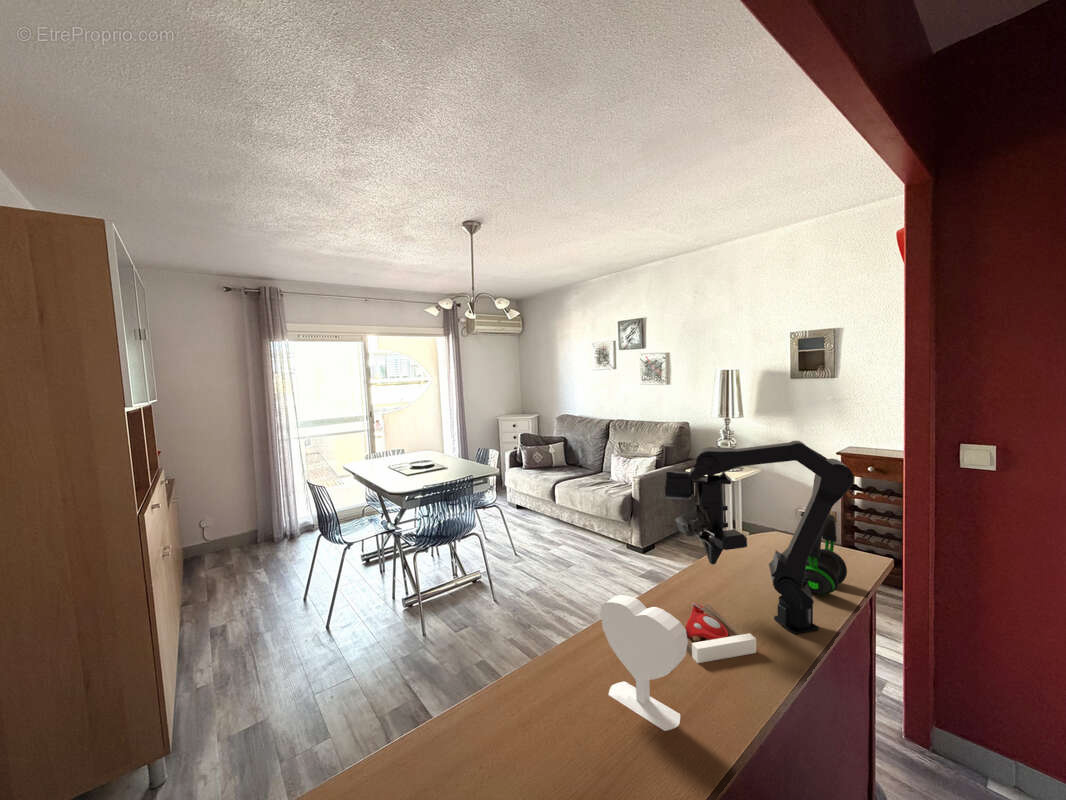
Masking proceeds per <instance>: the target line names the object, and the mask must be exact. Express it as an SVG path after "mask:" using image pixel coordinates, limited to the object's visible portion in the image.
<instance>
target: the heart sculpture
mask: <svg viewBox="0 0 1066 800" xmlns="http://www.w3.org/2000/svg"><path fill="white" fill-rule="evenodd" d="M600 619H601V626H602V630H603V633H604V635H605V638H606V639H607V642H608V645H609V646H610V648H611V649H612V650H613V652H614V655H616V657H617V659H618V660H619V661H620V662H621V663H622V665H623V666H624V667H625V668H626V669H627V671H628V673H630V675H632V678H633V679H635V686H634V685H631V684H630V683H628V682H626V681H625V680H623V681H621V682H620V681H619V682H616V683H614V684H611V686H610V688H609V691H608V696H609V697H610V698H613V699H614V700H615V701H617V702H619V703H620V704H622V705H624V706H625V707H627V708H628V709H629V710H631V711H633V712H634V713H636V714H638V716H641V717H642V718H644V719H645V720H646V721H649V722H650V723H652V724H653V725H655V726H656V727H658V728H660V729H661V730H662V731H664V732H666V731H671V730H673V729H676V728H677V727H679V725H680V722H681V713H679V712H677V711H675V710H674V709H673V708H671V707H669V706H668V705H666V704H664V703H662V702H660V701H659V700H657V699H655V698H653V697H652V696H651V693H650V692H651V691H650V690H651V689H650V681H651V680H656V679H657V680H658V679H660V678H663V677H666V676H668V675H669V673H671V672H672V671H673V670H674V669H675V668H676V667H677V666H678V665H680V663H681V661H682V660H683V659H684V658H685V657H686V655H687V651H686V650H687V643H688V640H689V639H688V640H687V638H688V636H687V634H686V629H685V626H684V625H683V623H682V622H681V621H680V620H679V619H677V618H676V617H674V616H673V615H672V614H671V613H670V612H667V611H666V610H664V609H662V608H660V607H658V606H651V607H648V608H647V607H646V606H645V605H644V604H643V602H641V601H640V599H638V598H636V597H633V596H631V595H625V594H619V595H618V594H617V595H616V596H614V597H612V598H611V599H609V600H607V601H605V602H604V603H603V604H601V607H600Z"/></svg>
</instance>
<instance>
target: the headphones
mask: <svg viewBox="0 0 1066 800" xmlns="http://www.w3.org/2000/svg"><path fill="white" fill-rule="evenodd" d="M822 540H824V541H825V546H824V548H821V547H822ZM837 540H838V539H837V524H836V518H835V516H834V515H833V514H830V513H829V515H828V517H827V519H826V521H825V524H824V526H823V528H822V530H821V532H820V534H819V536H818V538H817V540H816V543H815V545H814V547H813V549H812V551H811V553H810V555H809V557H808V559H807V562H806V571H805V579H804V581H805V582H806V583H807V584H808V586H809V589H810V592H811V593H813V594H816V595H819V596H826V595H830V594H831V593H834V592H835V591H836V590H837V589H838V587H839V585H840V584H842V583H843V582H844V581H845V580H846V578H847V574H848V568H847V564H846V562H845V561H844V559H843V558H842V556H840V555H839V554H838V553H836V552H834V547H835V543H837Z"/></svg>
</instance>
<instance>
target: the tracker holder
mask: <svg viewBox="0 0 1066 800" xmlns="http://www.w3.org/2000/svg"><path fill="white" fill-rule="evenodd" d="M692 607H693V608H692V610H691V614H690V617H689V618H688V620H687V623H686V625H685V626H684V628H685V629H686V634H687V638H688V639H691V638H693V637H701V638H705V639H706V640H713V639H719V638H725V637H729V633H728V631H727V629H726V628H725V627H724V626H723V625H722V624H721V623H720V622H719V621H718V620H716V619H715V618H713V617H711V616H709V615H708V614H707V613H705V610H704V605H700V604H697V603H695V602H693V603H692Z"/></svg>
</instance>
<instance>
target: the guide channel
mask: <svg viewBox="0 0 1066 800" xmlns="http://www.w3.org/2000/svg"><path fill="white" fill-rule="evenodd" d="M703 609H704V610H705V611H704V613H705V614H707V615H709V616H711V617H713V618H715V619H716V620H718V621H719V622H720V623H721V624H722V625H723V626H724V627H725V628H726V629H727V631H728V635H729V636H728V637H725V638H719V639H713V640H710V639H706V640H703V641H697V642H692V641H691V640H689V637H687V640H688V643H687V650H686V653H688V654H689V655H690V656H691V658H692V659H693V661H695V662H696V663H697V664H701V663H705V662H706V663H707V662H712V661H713V662H714V661H717V660H723V659H724V660H725V659H729V658H735V657H739V656H745V655H746V656H747V655H751V654H757V638H756V637H755V636H754V635H752V634H751V633H750V632H749V633H744V634H743V633H742V632H741V631H740V630H739V629H737V628H736V627H735V626H734V625H733V624H732V623H731V622H730V621H729V620H727V618H725V617H724V616H722V614H720V613H719V612H718V611H717V610H716V609H714V608H713V607H712V605H710V604H708V603H707V604H703Z"/></svg>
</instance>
